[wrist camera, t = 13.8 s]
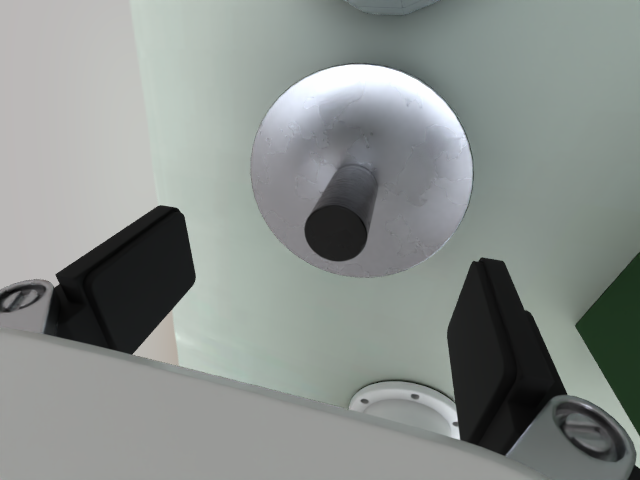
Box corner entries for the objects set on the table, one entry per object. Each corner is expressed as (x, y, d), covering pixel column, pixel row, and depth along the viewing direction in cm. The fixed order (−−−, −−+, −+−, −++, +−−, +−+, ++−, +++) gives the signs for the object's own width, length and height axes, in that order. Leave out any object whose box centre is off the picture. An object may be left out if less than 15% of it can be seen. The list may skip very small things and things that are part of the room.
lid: (439, 282, 21) (449, 364, 15) (261, 250, 23) (216, 313, 17) (504, 72, 14) (558, 87, 9) (252, 53, 16) (178, 57, 11)
